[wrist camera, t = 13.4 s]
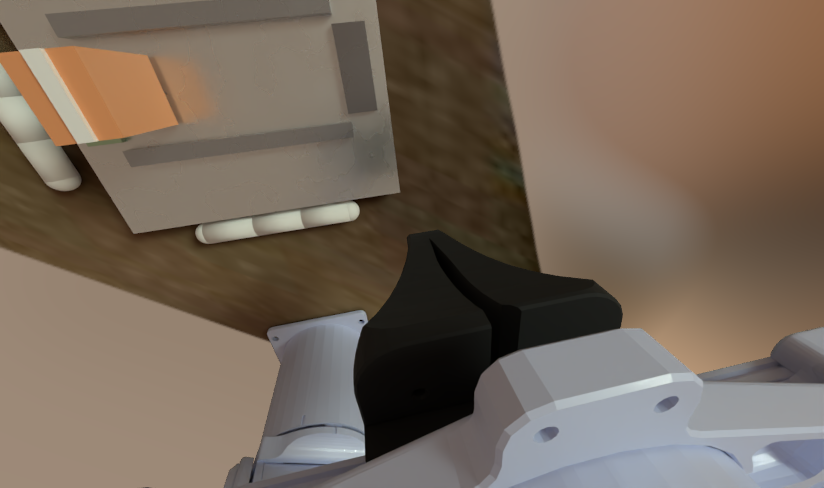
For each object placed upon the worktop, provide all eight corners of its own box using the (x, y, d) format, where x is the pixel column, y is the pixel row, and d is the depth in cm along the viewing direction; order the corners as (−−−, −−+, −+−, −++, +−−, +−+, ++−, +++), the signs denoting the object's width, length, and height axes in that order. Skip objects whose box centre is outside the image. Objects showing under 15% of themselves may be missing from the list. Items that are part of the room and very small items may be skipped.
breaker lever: (178, 124, 15) (120, 138, 11) (128, 130, 15) (51, 147, 11) (147, 55, 14) (68, 45, 10) (90, 61, 14) (-13, 52, 10)
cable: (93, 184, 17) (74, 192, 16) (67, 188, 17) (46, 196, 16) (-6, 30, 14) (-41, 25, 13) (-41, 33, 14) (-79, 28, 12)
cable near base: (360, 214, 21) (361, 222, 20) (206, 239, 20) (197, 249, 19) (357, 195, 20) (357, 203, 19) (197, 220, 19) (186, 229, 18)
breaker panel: (397, 185, 21) (401, 195, 19) (148, 223, 19) (127, 238, 17) (359, -108, 14) (359, -137, 12) (-36, -88, 12) (-104, -118, 10)
